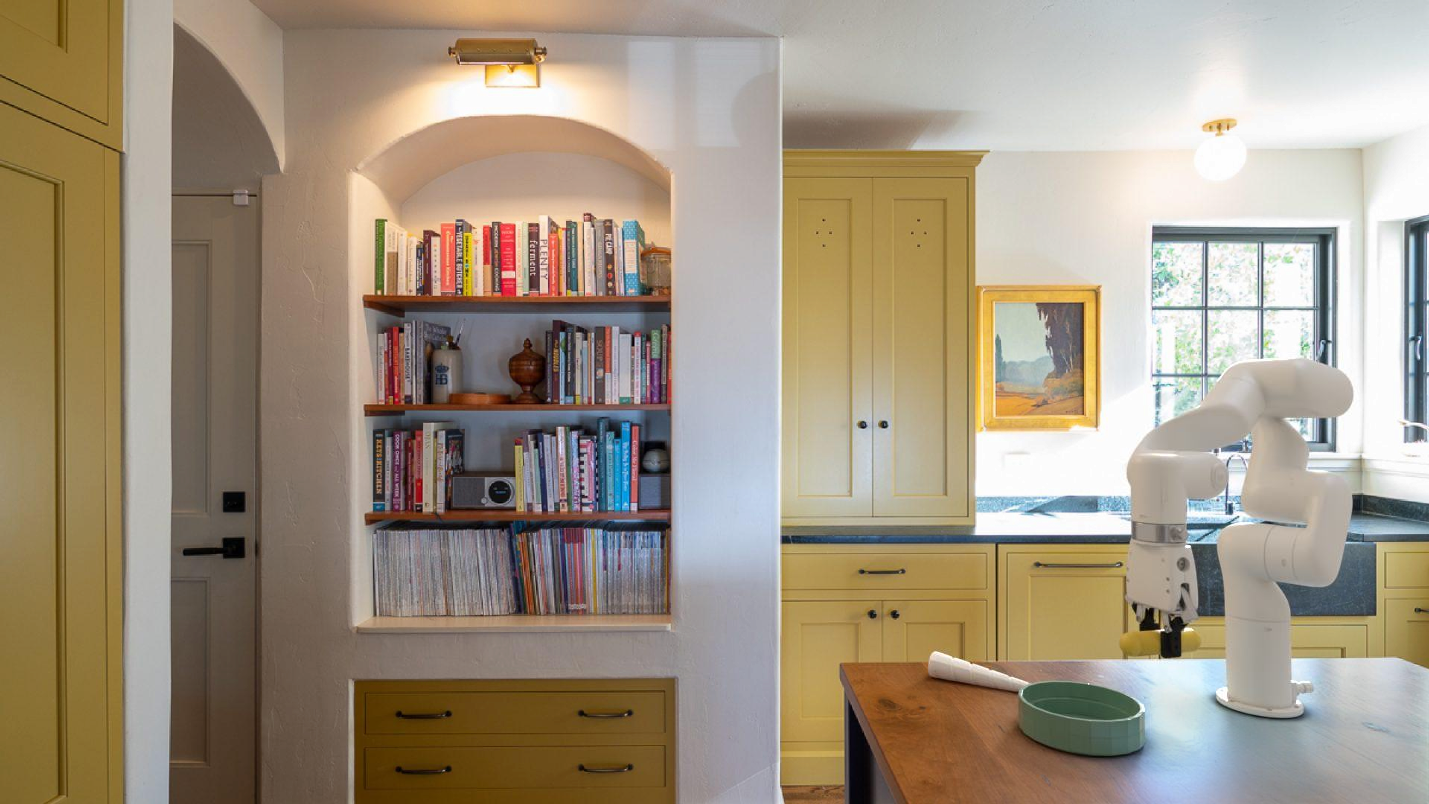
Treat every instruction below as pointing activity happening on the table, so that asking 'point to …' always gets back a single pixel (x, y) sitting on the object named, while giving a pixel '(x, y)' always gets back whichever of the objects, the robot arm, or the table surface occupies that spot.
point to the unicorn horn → (970, 673)
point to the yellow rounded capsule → (1155, 642)
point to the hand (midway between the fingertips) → (1160, 652)
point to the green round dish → (1081, 718)
